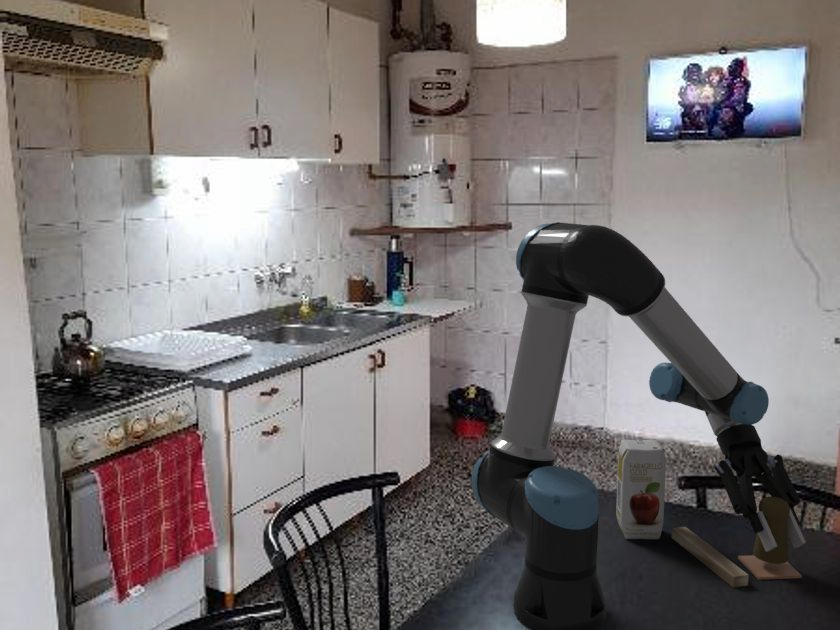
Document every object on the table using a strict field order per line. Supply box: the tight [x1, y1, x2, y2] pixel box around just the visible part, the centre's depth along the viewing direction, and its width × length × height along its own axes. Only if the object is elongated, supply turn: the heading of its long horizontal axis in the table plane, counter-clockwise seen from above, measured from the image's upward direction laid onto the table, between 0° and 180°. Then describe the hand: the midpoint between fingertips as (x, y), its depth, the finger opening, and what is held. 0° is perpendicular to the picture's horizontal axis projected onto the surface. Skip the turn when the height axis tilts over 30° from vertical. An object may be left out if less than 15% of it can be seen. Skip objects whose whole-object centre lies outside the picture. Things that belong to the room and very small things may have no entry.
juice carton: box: [615, 438, 667, 540], centre depth 154 cm, size 8×9×19 cm
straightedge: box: [671, 526, 750, 588], centre depth 144 cm, size 3×20×2 cm, turn 13°
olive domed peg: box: [752, 496, 790, 564], centre depth 140 cm, size 6×6×11 cm
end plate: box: [737, 554, 803, 581], centre depth 141 cm, size 8×8×1 cm
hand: (785, 546), depth 137 cm, fingers closed on olive domed peg, 5 cm apart
